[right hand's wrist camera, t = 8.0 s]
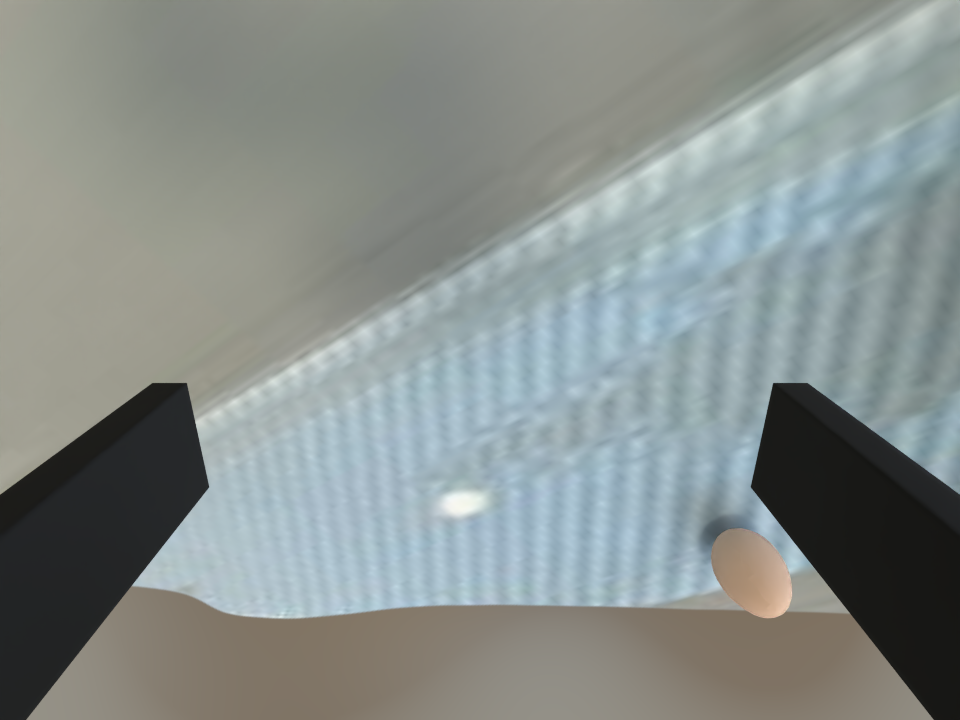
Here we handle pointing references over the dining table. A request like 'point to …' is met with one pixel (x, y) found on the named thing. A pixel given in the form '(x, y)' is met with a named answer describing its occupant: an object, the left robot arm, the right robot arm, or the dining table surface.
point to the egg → (752, 572)
